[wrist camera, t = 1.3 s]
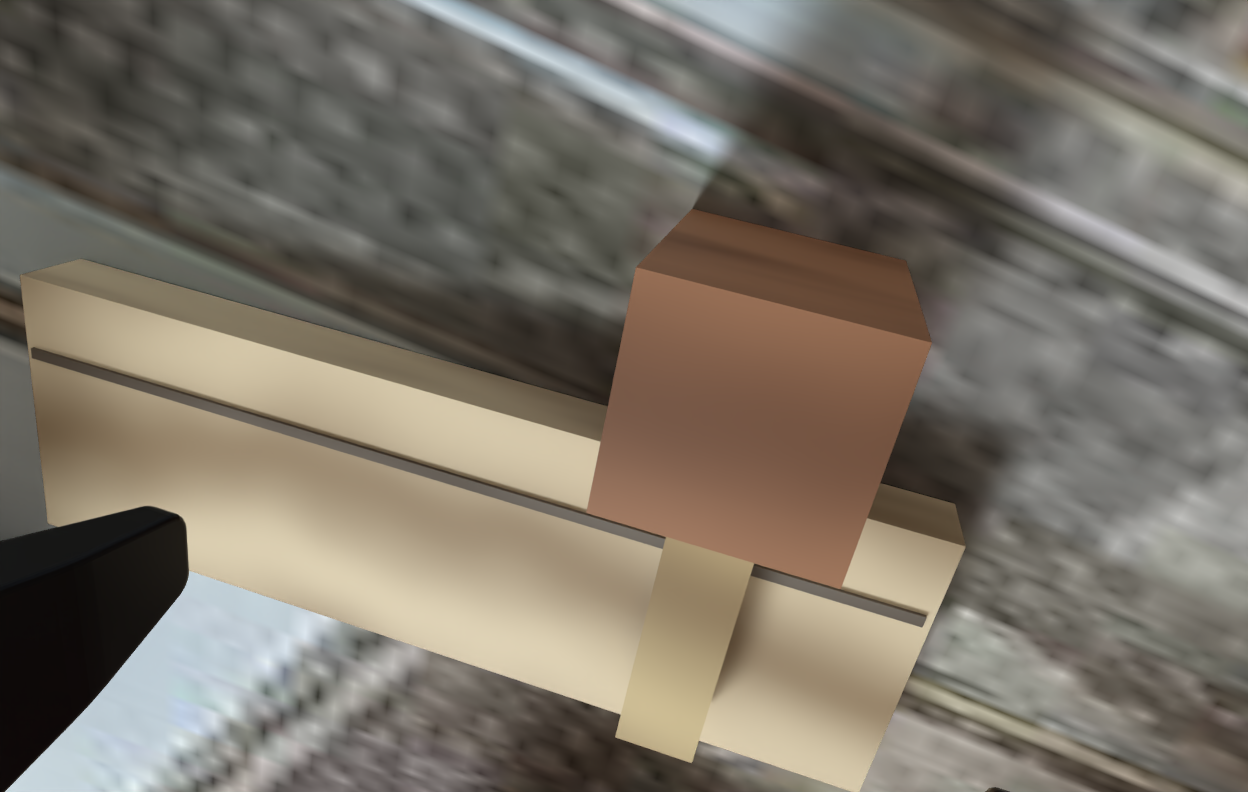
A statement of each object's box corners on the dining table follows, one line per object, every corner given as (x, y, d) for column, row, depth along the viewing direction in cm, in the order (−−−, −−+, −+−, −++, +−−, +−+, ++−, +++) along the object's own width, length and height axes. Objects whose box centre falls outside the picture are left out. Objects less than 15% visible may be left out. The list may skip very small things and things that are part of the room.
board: (856, 738, 24) (858, 796, 22) (99, 492, 27) (44, 525, 26) (954, 504, 21) (966, 549, 19) (80, 258, 24) (16, 275, 22)
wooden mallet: (763, 676, 24) (741, 856, 19) (598, 624, 25) (531, 783, 19) (905, 260, 19) (931, 342, 14) (692, 208, 20) (635, 267, 14)
